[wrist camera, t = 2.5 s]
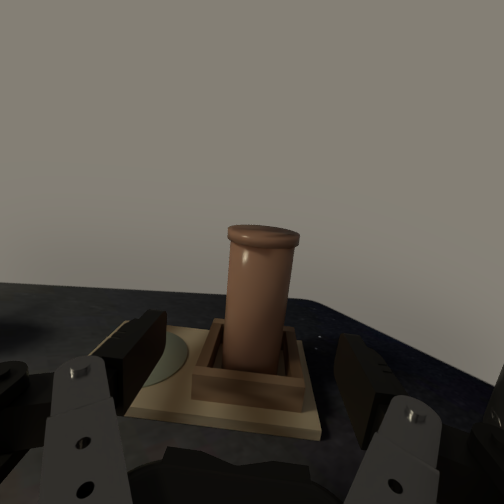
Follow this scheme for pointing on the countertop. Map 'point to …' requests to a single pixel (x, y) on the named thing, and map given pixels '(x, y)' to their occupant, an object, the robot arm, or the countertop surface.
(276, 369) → the tall brown tankard
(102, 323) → the countertop surface
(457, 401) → the countertop surface
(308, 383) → the board
